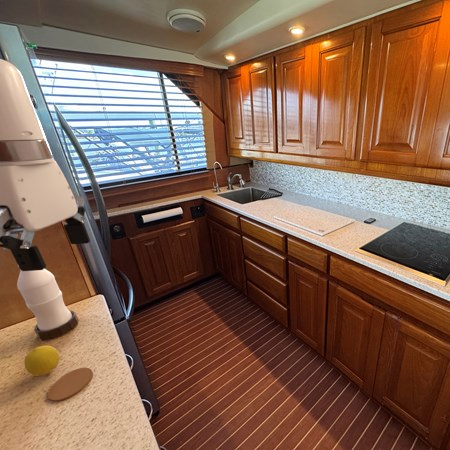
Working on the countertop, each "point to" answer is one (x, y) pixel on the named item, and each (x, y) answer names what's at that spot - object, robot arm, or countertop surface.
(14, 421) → the countertop surface
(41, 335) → the ring
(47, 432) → the countertop surface
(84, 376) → the cork coaster
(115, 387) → the countertop surface
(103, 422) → the countertop surface
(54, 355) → the lemon
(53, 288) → the water bottle
